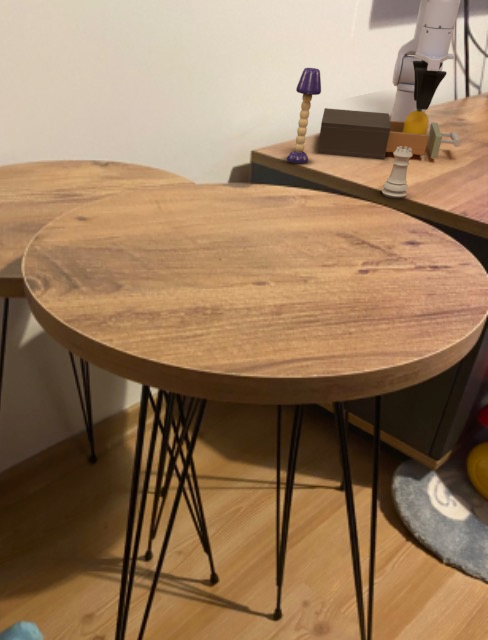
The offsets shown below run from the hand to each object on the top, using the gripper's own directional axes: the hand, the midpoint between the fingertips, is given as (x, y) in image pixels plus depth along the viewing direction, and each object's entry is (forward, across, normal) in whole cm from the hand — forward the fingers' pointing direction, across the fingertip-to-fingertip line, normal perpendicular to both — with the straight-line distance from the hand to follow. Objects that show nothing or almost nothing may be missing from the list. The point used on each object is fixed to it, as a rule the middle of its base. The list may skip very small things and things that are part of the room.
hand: (420, 104), depth 131 cm
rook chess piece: (+10, -27, +4) cm, 29 cm away
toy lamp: (+10, -12, +22) cm, 27 cm away
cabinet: (+10, +1, +12) cm, 16 cm away
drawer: (+9, +1, -1) cm, 9 cm away
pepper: (+8, 0, 0) cm, 8 cm away
